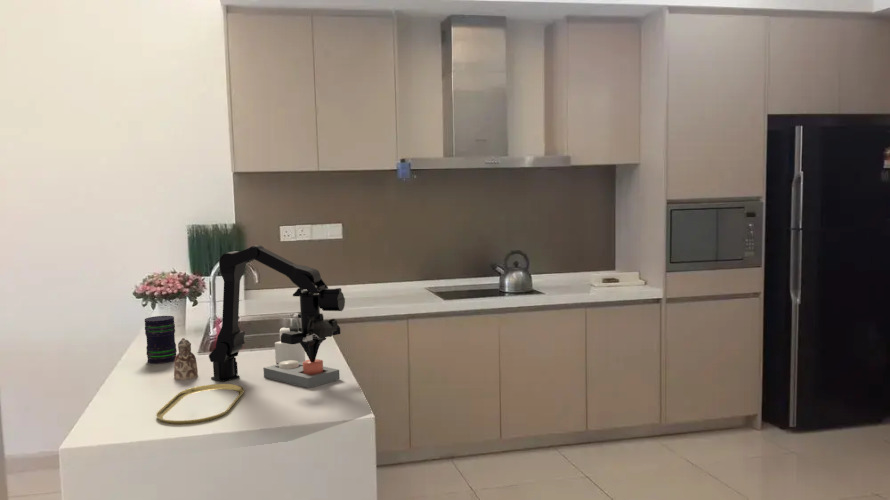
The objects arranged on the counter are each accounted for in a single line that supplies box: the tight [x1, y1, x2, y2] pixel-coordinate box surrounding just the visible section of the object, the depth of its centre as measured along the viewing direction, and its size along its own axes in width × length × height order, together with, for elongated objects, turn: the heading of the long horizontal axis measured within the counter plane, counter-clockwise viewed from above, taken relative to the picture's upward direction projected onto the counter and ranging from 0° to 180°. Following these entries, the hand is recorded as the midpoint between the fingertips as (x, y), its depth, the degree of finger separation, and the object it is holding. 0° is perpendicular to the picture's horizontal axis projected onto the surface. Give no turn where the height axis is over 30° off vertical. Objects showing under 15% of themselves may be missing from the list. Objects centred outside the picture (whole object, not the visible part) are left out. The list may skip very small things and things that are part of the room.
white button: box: [279, 360, 299, 370], centre depth 244 cm, size 6×6×4 cm
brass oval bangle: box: [155, 383, 245, 425], centre depth 215 cm, size 19×35×2 cm, turn 2°
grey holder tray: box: [263, 360, 341, 389], centre depth 240 cm, size 12×22×3 cm, turn 48°
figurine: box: [173, 337, 199, 380], centre depth 247 cm, size 7×7×12 cm
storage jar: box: [144, 315, 178, 365], centre depth 270 cm, size 10×10×15 cm
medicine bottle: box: [274, 326, 306, 364], centre depth 261 cm, size 7×7×12 cm
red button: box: [303, 358, 324, 375], centre depth 236 cm, size 6×6×4 cm
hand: (312, 361), depth 236 cm, fingers closed, pressing on red button
